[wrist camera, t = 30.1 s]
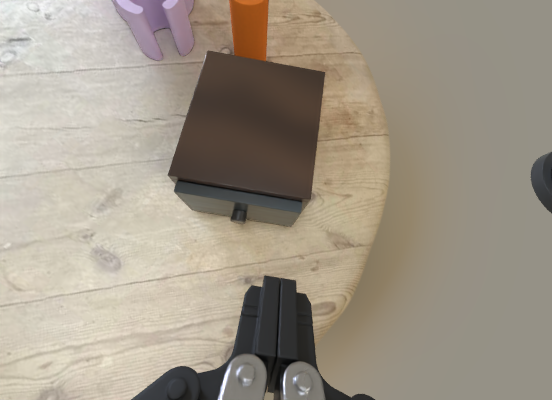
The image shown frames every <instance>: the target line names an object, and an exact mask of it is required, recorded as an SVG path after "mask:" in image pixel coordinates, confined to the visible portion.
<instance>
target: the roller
mask: <svg viewBox="0 0 552 400" xmlns="http://www.w3.org/2000/svg"><path fill="white" fill-rule="evenodd" d="M268 1H269V0H229V3H230V13H231V23H232V33H233V43H234V53H235V56H240V57H246V58H251V59H256V60H262V61H266V47H267V24H268Z"/></svg>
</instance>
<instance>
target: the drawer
mask: <svg viewBox="0 0 552 400" xmlns="http://www.w3.org/2000/svg"><path fill="white" fill-rule="evenodd" d="M174 192H175V193H176V194H177V195H178V196H179V197H180V198H181V199H182V200H183V201H184V202H185V204H186V205H187V206H188V207H189V208H190V209H191V210H194V211H200V212H206V213H212V214H218V215H224V216H230V217H231V221H232V222H234V223H238V224H245V222H246V219H248V220H254V221H260V222H266V223H272V224H278V225H284V226H290V227H292V225H293V224H294V222H295V221H296V219H297V218H298V216H299V215H300V214H301V210H302V202H301V201H295V200H292V199H289V198H283V197H277V196H271V195H265V194H259V193H253V192H247V191H242V190H236V189H230V188H224V187H218V186H212V185H206V184H200V183H197V184H195V183H189V182H183V181H177V182H176V186H175V189H174Z"/></svg>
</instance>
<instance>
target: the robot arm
mask: <svg viewBox="0 0 552 400" xmlns="http://www.w3.org/2000/svg"><path fill="white" fill-rule="evenodd" d="M551 177H552V169H551ZM312 325H313V322H312V311H311V303H310V301H309V300H308V298H307V296H306V294H303V293H296V280H290V279H284V278H277V277H271V276H264V280H263V286H262V287H258V286H252V285H251V287H250V288H249V289H248V291H247V292H246V293H245V297H244V302H243V306H242V311H241V316H240V321H239V326H238V330H237V335H236V340H235V345H234V349H233V353H232V355H231V357H230V358H229V360H228V361H227V362H226V363H225V364H224V365H222V366H221V367H219V368H217V369H215V370H211V371H207V372H202V373H198V374H197V373H196V371H195V370H193V369H192V368H190V367H186V366H180V367H175V368H173V369H171V370H169V371H167V372H166V373H165V374H163V375H162V376H161V377H160V378H158V379H157V380H156V381H154V382H153V383H152V384H151V385H149V386H148V387H147V388H146V389H144V390H143V391H142V392H140V393H139V394H138V395H137V396H135V397H134V398H133V399H131V400H263V399H264V395H265V392H266V389H267V386H268V392H271V393H274V400H375V399H373V398H372V397H370V396H368V395H365V394H357V395H354V396H353V397H352V398H351V397H349V396H347V395H346V394H344V393H342V392H340V391H338V390H336V389H334V388H333V387H331V386H330V385H329V384H328V383H327V382H326V381H325V380H324V379H323V378H322V376H321V374H320V373H319V371H318V368H317V364H316V355H315V344H314V333H313V326H312Z"/></svg>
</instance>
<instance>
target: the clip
mask: <svg viewBox="0 0 552 400" xmlns="http://www.w3.org/2000/svg"><path fill="white" fill-rule="evenodd" d="M112 1H113V3H114V5H115V7H116V9H117V11H118V13H119V14H120V16H121V17H122V18H123V19H124V20H125V21H127V22H128V24H129V26H130V28H131V30H132V32H133V34H134V36H135V38H136V40H137V42H138V44H139V46H140V48H141V50H142V51H143V53H144V54H145V55H146V56H148V57H149V58H151V59H154V60H157V61H160V60H162V59H163V55H162V52H161V50H160V47H159V45H158V43H157V40H156V38H155V36H154V32H155V31H157V30H159V29H162V28H170V29H171V31H172V34H173V37H174V40H175V43H176V46H177V49H178V52H179V54H180V55H182V56H185V55H187V54H188V53H189V52H190V51H191V49H192V47H193V45H194V37H193V33H192V29H191V25H190V21H189V18H188V15H189V14H190V12H191V11H192V8H193V4H194V0H112Z"/></svg>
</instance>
